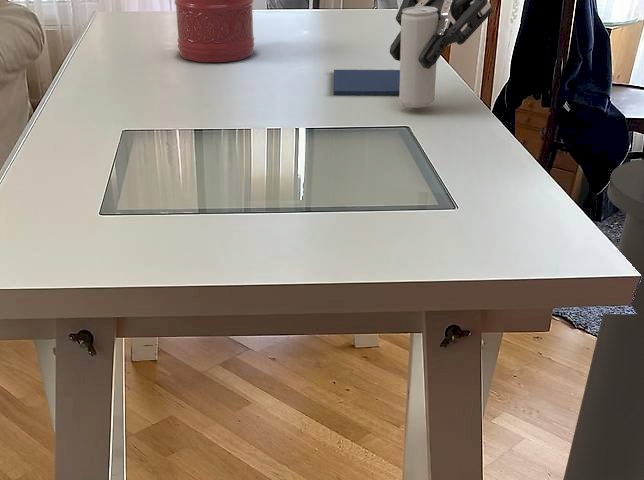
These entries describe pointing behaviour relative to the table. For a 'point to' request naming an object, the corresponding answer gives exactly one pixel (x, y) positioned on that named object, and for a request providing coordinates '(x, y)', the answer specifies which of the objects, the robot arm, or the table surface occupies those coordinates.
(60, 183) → the table surface
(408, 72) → the beverage can
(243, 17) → the kitchen canister
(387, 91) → the drinks mat
